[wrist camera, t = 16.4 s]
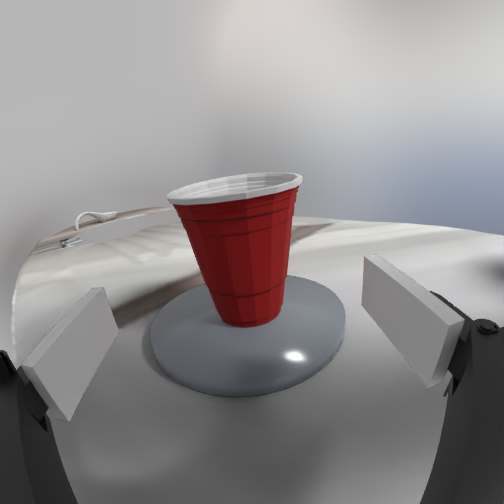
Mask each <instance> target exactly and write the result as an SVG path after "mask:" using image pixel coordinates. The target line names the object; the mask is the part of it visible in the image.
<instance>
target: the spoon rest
mask: <svg viewBox="0 0 504 504" xmlns="http://www.w3.org/2000/svg"><path fill="white" fill-rule="evenodd" d="M117 213H118V212H110V213H94V212H85V213H82V214H80V215H79V216H78V217H77V219H76V221H75V230H78V229H79V228H78V222H79V219H80V218H81V217H82V216H84V215H90V216H92V217H94V218H96V219H97V220H99V221H100V222H106V221H110V220H112V219H114V218H115V217H116V215H117Z"/></svg>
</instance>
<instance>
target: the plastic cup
mask: <svg viewBox="0 0 504 504" xmlns="http://www.w3.org/2000/svg"><path fill="white" fill-rule="evenodd" d="M302 179H303V177H302V176H301V175H299V174H295V173H286V172H282V173H281V172H280V173H279V172H271V173H270V172H269V173H254V174H243V175H237V176H229V177H223V178H218V179H213V180H207V181H203V182H199V183H195V184H191V185H188V186H185V187H182V188H179V189H177V190H174V191H172V192H170V193H169V194H167V195H166V197H167V199H168V201H169V202H170V203H171V204H173V206H174V208H175V209H176V210H177V213H178V216H179V217H180V218H181V221H182V224H183V227H184V228H185V230H186V232H187V235H188V238H189V240H190V243H191V246H192V249H193V252H194V254H195V257H196V260H197V263H198V265H199V268H200V271H201V273H202V276H203V279H204V281H205V284H206V286H207V287H208V289H209V292H210V294H211V297H212V300H213V302H214V305H215V308H216V310H217V312H218V314H219V315H220V317H221V319H222V320H223V322H225V323H227V324H229V325H231V326H236V327H242V328H245V327H256V326H260V325H263V324H266V323H269V322H270V321H272V320H273V319H275V318H276V317H277V316H278V315H279V313H280V311H281V306H282V305H283V297H284V287H285V278H286V277H287V269H288V259H289V249H290V238H291V227H292V216H293V215H294V204H295V202H296V193H297V192H298V190H297V189H298V188H299V184H300V183H302Z"/></svg>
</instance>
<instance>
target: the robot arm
mask: <svg viewBox="0 0 504 504" xmlns="http://www.w3.org/2000/svg"><path fill="white" fill-rule="evenodd" d="M361 305H362V306H363V308H364V309H365V310H366V311H367V312H368V314H369V315H370V316H371V317H372V318H373V320H374V321H375V322H376V323H377V325H378V326H379V327H380V328H381V329H382V331H383V332H384V333H385V334H386V336H387V337H388V338H389V339H390V341H391V342H392V343H393V344H394V346H395V347H396V348H397V349H398V351H399V352H400V353H401V355H402V356H403V357H404V358H405V360H406V361H407V362H408V364H409V365H410V366H411V368H412V369H413V370H414V371H415V373H416V374H417V375H418V377H419V378H420V379H421V381H422V382H423V383H424V385H425V386H426V387H427V389H428V388H430V387H432V386H434V385H436V384H439V383H441V382H443V380H444V377H445V375H446V372H447V370H449V371H450V372H451V374H452V378H451V380H450V382H449V384H448V386H447V389H446V391H445V393H444V395H443V396H445V397H446V395H447V393H448V400H447V406H446V412H445V418H444V423H443V428H442V433H441V438H440V442H439V446H438V450H437V454H436V457H435V461H434V464H433V468H432V471H431V474H430V477H429V480H428V483H427V486H426V489H425V492H424V494H423V497H422V499H421V502H420V504H504V327H501V328H499V326H498V325H497V324H496V323H494V322H492V321H490V320H487V319H477V320H474V321H473V320H472V319H471V318H469V317H468V316H467V315H466V314H464V313H463V312H462V311H460V310H459V309H458V308H457V307H454V305H453V304H451V303H450V302H448V301H447V300H446V299H445V298H444V297H442V296H441V295H439V294H437V293H434V292H432V291H428V290H427V289H425V288H424V287H423V286H421V285H420V284H419V283H417V282H416V281H414V280H413V279H412V278H410V277H409V276H408V275H406V274H405V273H403V272H402V271H401V270H399V269H398V268H396V267H395V266H394V265H392V264H391V263H389V262H388V261H386V260H385V259H384V258H382V257H381V256H379V255H378V254H375V255H368V256H364V272H363V290H362V304H361ZM118 334H119V330H118V327H117V325H116V322H115V319H114V316H113V314H112V311H111V308H110V305H109V302H108V299H107V296H106V293H105V289H104V287H98V288H92V289H91V290H90V291H89V292H88V293H87V294H86V295H85V296H84V297H83V298H81V299H80V300H79V301H78V302H77V303H76V305H75V306H74V307H73V308H72V309H71V310H70V311H69V312H68V313H67V314H66V315H65V316H64V317H63V318H62V319H61V320H60V321H59V322H58V323H57V324H56V325H55V326H54V327H53V328H52V330H51V331H50V332H49V333H48V334H47V335H46V336H45V337H44V338H43V339H42V341H41V342H40V343H39V344H38V345H37V346H36V347H35V348H34V350H33V351H32V352H31V353H30V354H29V355H28V357H27V358H26V359H25V360H24V361H23V363H22V364H21V366H20V367H19V368H18V369H17V370H16V368H15V367H14V365H13V363H12V361H11V360H10V358H9V356H8V354H7V352H5V351H4V350H0V504H78V503H77V500H76V498H75V496H74V493H73V491H72V489H71V486H70V484H69V481H68V479H67V476H66V473H65V470H64V468H63V465H62V462H61V459H60V455H59V452H58V449H57V446H56V442H55V438H54V435H53V431H52V427H51V422H50V419H49V417H48V416H47V415H46V412H47V410H48V408H49V409H50V411H51V412H52V413H53V415H54V416H55V417H56V418H57V419H61V420H65V421H69V422H70V420H71V418H72V416H73V414H74V412H75V410H76V408H77V406H78V404H79V402H80V400H81V398H82V396H83V395H84V393H85V391H86V389H87V387H88V385H89V384H90V382H91V380H92V378H93V376H94V375H95V373H96V371H97V369H98V368H99V366H100V364H101V362H102V361H103V359H104V357H105V355H106V354H107V352H108V350H109V349H110V347H111V345H112V344H113V342H114V340H115V339H116V337H117V335H118Z"/></svg>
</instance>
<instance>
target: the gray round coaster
mask: <svg viewBox="0 0 504 504" xmlns="http://www.w3.org/2000/svg"><path fill="white" fill-rule="evenodd" d="M344 330H345V310H344V307H343V304H342V302H341V301H340V299H339V298H338V297H337V296H336V294H335V293H333V292H332V291H331V290H330V289H328V288H326V287H325V286H323V285H321V284H319V283H317V282H314V281H311V280H308V279H305V278H301V277H296V276H290V275H287V277H286V278H285V287H284V297H283V305H282V306H281V311H280V313H279V315H278V316H277V317H276V318H275V319H273V320H272V321H270V322H269V323H266V324H263V325H260V326H256V327H245V328H242V327H236V326H231V325H229V324H227V323H225V322H223V320H222V319H221V317H220V315H219V314H218V312H217V310H216V308H215V305H214V302H213V300H212V297H211V294H210V292H209V289H208V287H207V286H206V284H203V285H200V286H197V287H195V288H192V289H190V290H188V291H186V292H184V293H182V294H180V295H179V296H177V297H175V298H174V299H172V300H171V301H170V302H168V303H167V304H166V305H165V306H164V307H163V308H162V309H161V310H160V311H159V312H158V313H157V315H156V316H155V318H154V319H153V321H152V324H151V327H150V333H149V337H150V343H151V346H152V348H153V351H154V354H155V356H156V359H157V361H158V363H159V365H160V366H161V368H162V369H163V370H164V371H165V372H166V373H167V374H168V375H169V376H170V377H171V378H172V379H174V380H175V381H177V382H178V383H180V384H182V385H184V386H186V387H188V388H190V389H193V390H196V391H199V392H202V393H206V394H212V395H217V396H228V397H245V396H257V395H262V394H268V393H273V392H276V391H280V390H283V389H286V388H289V387H291V386H294V385H296V384H298V383H301V382H303V381H304V380H306V379H308V378H310V377H311V376H313V375H315V374H316V373H317V372H319V371H320V370H321V369H322V368H324V367H325V366H326V365H327V364H328V363H329V362H330V361H331V360H332V359H333V358H334V356H335V355H336V353H337V352H338V350H339V348H340V346H341V344H342V341H343V337H344Z"/></svg>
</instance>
